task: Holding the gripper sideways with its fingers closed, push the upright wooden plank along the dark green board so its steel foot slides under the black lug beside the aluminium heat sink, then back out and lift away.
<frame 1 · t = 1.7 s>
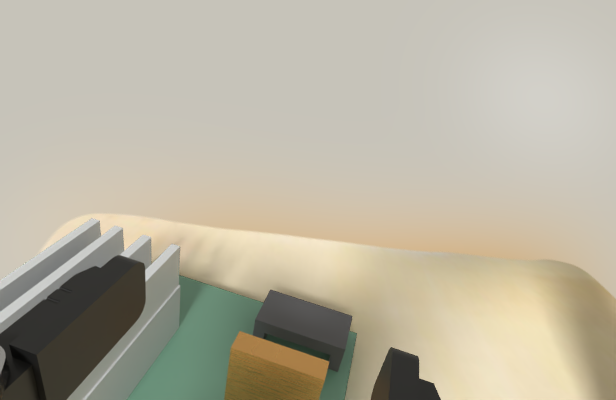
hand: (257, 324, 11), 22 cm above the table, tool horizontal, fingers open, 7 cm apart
upright wooden plank: (279, 381, 26), point 8 cm above the table, slide at 0.0 cm
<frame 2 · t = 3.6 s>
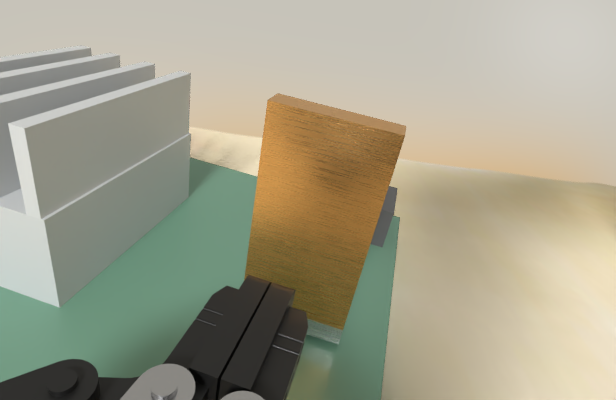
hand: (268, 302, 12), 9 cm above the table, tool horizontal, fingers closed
heatsink board: (189, 283, 25), on the table
upright wooden plank: (322, 207, 20), point 8 cm above the table, slide at 0.0 cm
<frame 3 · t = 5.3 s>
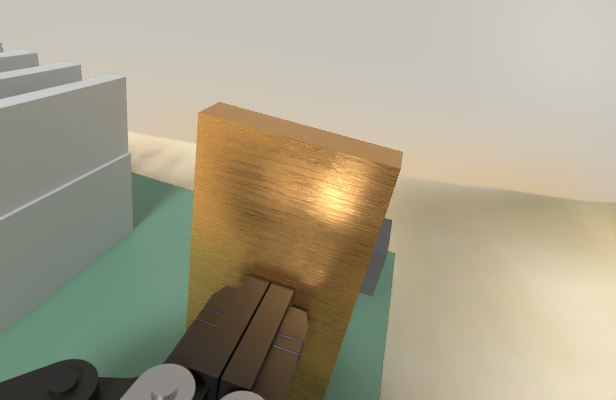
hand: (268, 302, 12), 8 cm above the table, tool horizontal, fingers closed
heatsink board: (119, 349, 19), on the table
upright wooden plank: (292, 251, 15), point 8 cm above the table, slide at 0.9 cm, touching gripper
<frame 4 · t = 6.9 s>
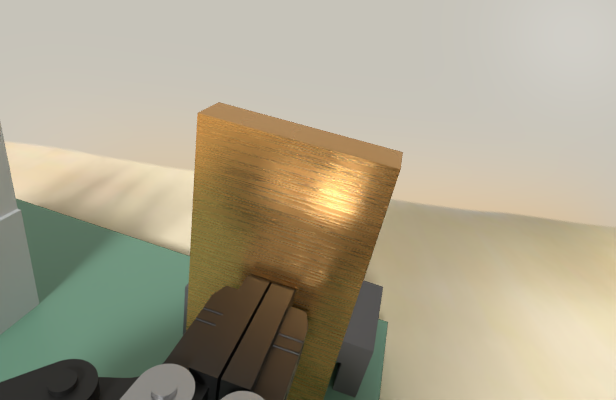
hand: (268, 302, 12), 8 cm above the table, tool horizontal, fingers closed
upright wooden plank: (292, 251, 15), point 8 cm above the table, slide at 7.6 cm, touching gripper
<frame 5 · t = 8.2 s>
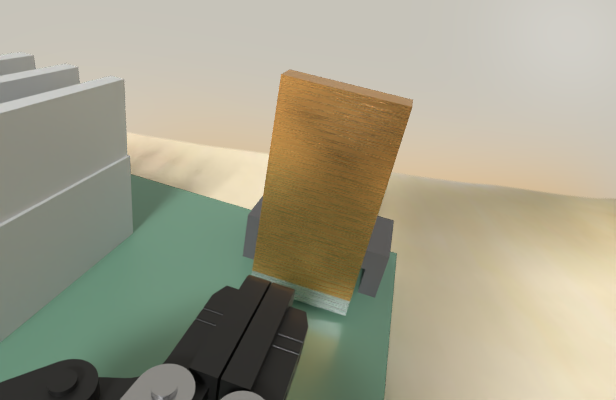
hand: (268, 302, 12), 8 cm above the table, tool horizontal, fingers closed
heatsink board: (121, 354, 19), on the table
upright wooden plank: (330, 183, 20), point 8 cm above the table, slide at 7.5 cm
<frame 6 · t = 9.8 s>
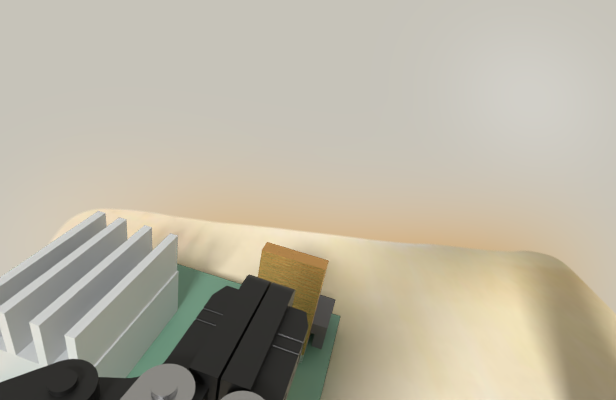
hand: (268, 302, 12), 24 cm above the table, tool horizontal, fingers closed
heatsink board: (177, 386, 34), on the table
upright wooden plank: (292, 287, 36), point 8 cm above the table, slide at 7.5 cm
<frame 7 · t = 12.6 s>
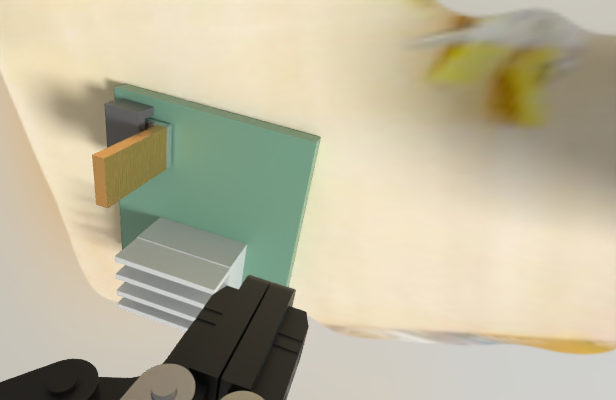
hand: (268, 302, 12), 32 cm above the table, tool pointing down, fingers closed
heatsink board: (212, 200, 51), on the table
upright wooden plank: (116, 155, 42), point 8 cm above the table, slide at 7.5 cm
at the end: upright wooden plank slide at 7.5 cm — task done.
